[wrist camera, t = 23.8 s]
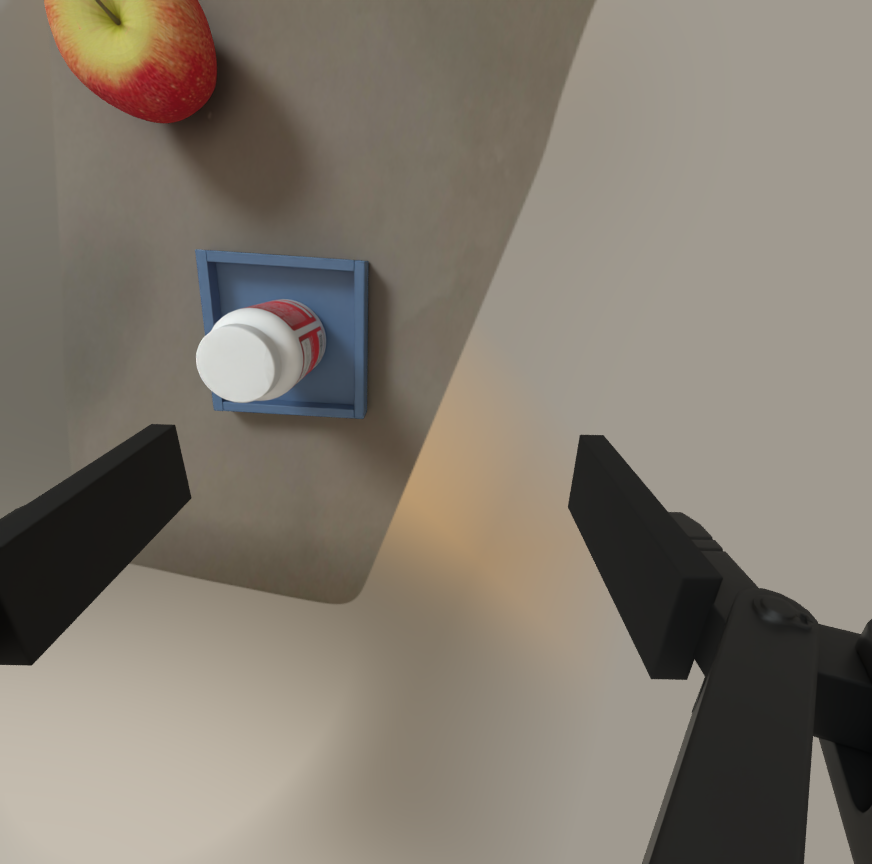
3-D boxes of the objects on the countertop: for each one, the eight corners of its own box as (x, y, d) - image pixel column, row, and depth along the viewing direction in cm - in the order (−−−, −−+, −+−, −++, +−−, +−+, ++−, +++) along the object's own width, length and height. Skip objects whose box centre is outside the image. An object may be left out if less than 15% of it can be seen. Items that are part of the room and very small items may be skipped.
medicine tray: (368, 261, 35) (364, 260, 33) (367, 411, 40) (363, 419, 38) (208, 250, 35) (194, 249, 33) (224, 403, 40) (213, 410, 38)
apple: (224, -14, 29) (127, -143, 20) (248, 136, 32) (174, 85, 23) (100, -9, 29) (-55, -135, 20) (136, 141, 32) (16, 92, 23)
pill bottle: (238, 317, 36) (161, 338, 26) (304, 285, 35) (251, 294, 25) (278, 385, 38) (220, 430, 28) (341, 356, 38) (305, 392, 27)
